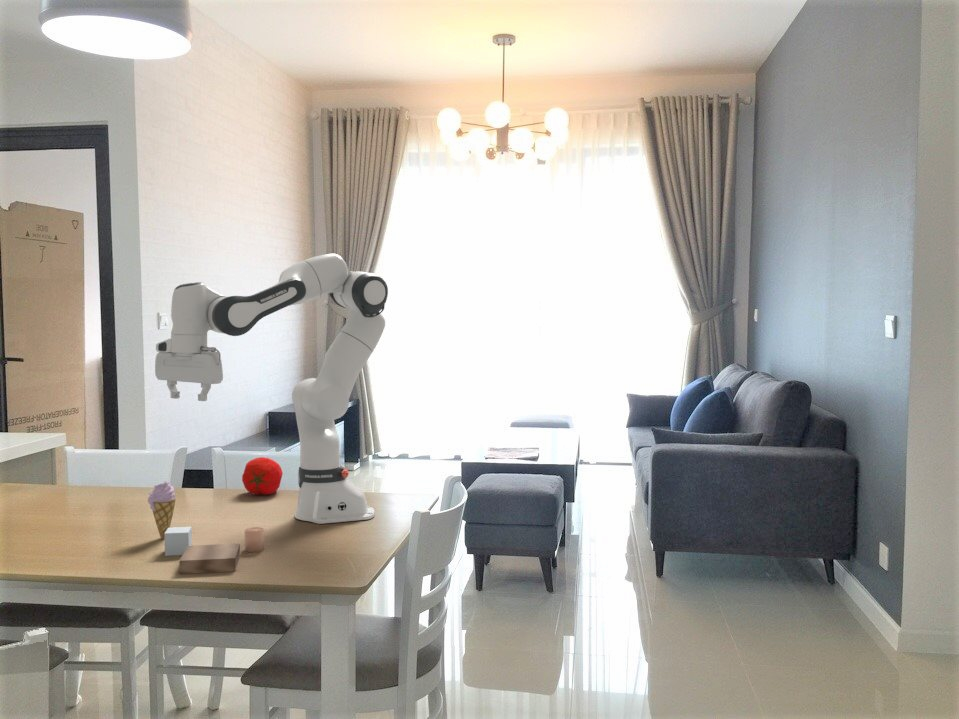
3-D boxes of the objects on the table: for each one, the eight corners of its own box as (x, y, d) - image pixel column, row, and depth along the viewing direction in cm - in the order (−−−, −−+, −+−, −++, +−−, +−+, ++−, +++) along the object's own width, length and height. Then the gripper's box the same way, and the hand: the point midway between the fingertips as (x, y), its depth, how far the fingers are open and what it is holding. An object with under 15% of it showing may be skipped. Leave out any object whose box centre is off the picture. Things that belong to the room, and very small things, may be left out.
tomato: (263, 498, 280) (250, 509, 267) (241, 466, 279) (228, 475, 266) (295, 477, 279) (284, 487, 265) (273, 445, 278) (261, 453, 265)
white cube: (192, 548, 212) (191, 526, 212) (188, 554, 207) (188, 532, 206) (168, 549, 211) (168, 527, 211) (164, 556, 206) (164, 533, 205)
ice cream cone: (159, 543, 216) (158, 484, 215) (143, 539, 219) (142, 481, 218) (181, 537, 222) (180, 479, 221) (165, 533, 225) (164, 477, 224)
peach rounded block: (264, 546, 214) (264, 526, 214) (263, 551, 209) (263, 531, 209) (245, 547, 213) (245, 527, 213) (244, 552, 209) (243, 532, 208)
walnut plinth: (240, 555, 206) (239, 543, 206) (235, 571, 194) (235, 558, 194) (187, 558, 204) (187, 545, 203) (179, 573, 192) (179, 560, 192)
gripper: (228, 347, 217) (228, 401, 218) (169, 344, 227) (169, 396, 227) (210, 347, 212) (210, 403, 213) (150, 344, 221) (150, 397, 222)
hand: (188, 399), depth 220 cm, fingers open, 8 cm apart
